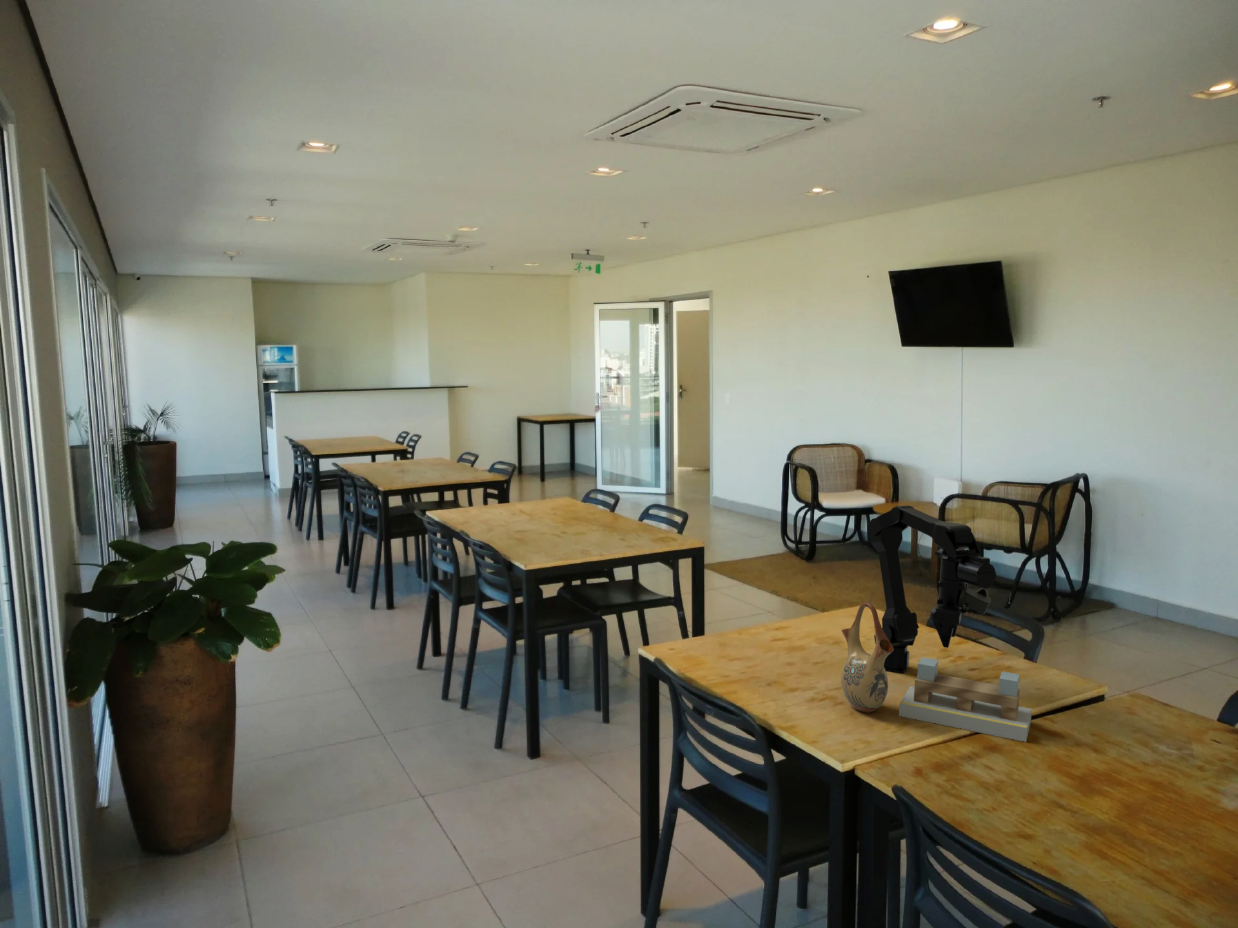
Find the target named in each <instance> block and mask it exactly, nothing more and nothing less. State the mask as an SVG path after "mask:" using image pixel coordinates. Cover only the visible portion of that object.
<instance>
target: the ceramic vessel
mask: <svg viewBox="0 0 1238 928" xmlns="http://www.w3.org/2000/svg"><path fill="white" fill-rule="evenodd" d="M866 608H868V609H869V610H870V612H871V616H872V618H873V619H872V620H873V625H874V635H875V637H876V644H875V645H874V646H875V647H874V650H873V652H872V654H869V653H868V652H867V651H866V650H865V649H864V647H863V645H862V642H861V639H860V638H861V637H860V635H861V634H860V629H861V620H862V616H863V613H864V610H865V609H866ZM841 633H842V635H843V636H844V638H845V640H846V641H845V642H846V644H847V656H846V657H847V658H846V659H845V662H844V664H843V665H842V670H841V674H840V675H841V677H840V678H841V681H840V682H841V689H842V691H843V694H844V697H845V699H846V700H847V702H848V703H849V704H850V705H851V707H853V708H854V709H856V710H857V711H860V712H862V713H874V712H875V711H876V710H878V709H880V707H881V706H882V705H883V704H884V703H885V701H886V699H887V696H888V692H889V678H888V674H887V670H885V668H884V661H885V659H886V657H887V656H888V655H889V654H890V653H892V652H893V650H894V648H893V646H892V645H891V643H890V642H889V640H888V638H887V637H886V635H885V633H884V631H883V629H882V623H881V622H880V618H879V615H878V612H877V609H876V607H875V606H874V604H872V603H871V602H868V601H867V602H862V603H861V604H860V606H859V607H858V609H857V613H856V615H855V619H854V620H853V623H852V625H851V626H850V627H848V628H843V629H841Z"/></svg>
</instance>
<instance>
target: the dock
mask: <svg viewBox="0 0 1238 928" xmlns="http://www.w3.org/2000/svg"><path fill="white" fill-rule="evenodd" d="M914 688H915V686H909V688H908V689H907V691H906V692H905V694H904V695H903V697H902V699H901V700H900V702H899V711H898V717H901V716H902V717H903V718H908V719H911V720H912V719H913V720H916V719H917V720H918V721H920V722H925V723H926V722H927V723H932V724H935V723H936V725H941V726H946V727H950V728H954V729H955V728H956V729H960V728H961V730H966V731H970V732H976V733H979V734H980V733H981V734H985V735H990V736H995V737H998V738H1005V739H1008V740H1009V739H1010V740H1013V739H1014V741H1018V742H1023V741H1024V743H1027V739H1028V735H1029V731H1030V727H1031V723H1032V712H1033V711H1032V709H1033V708H1030V707H1024V706H1019V707H1018V713H1017V717H1016V721H1013V720H1007V719H1002V718H1000V714H1001V706H1000V705H995V704H990V703H984V702H979V701H975V703H974V705H973V707H972V710H971V712H966V711H961V710H956V701H957V697H953V696H947V695H942V694H937V693H933V695H932V697H931V699H930V700H929V702H928V704H926V703H920V702H915V701H914ZM917 720H916V721H917Z"/></svg>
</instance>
